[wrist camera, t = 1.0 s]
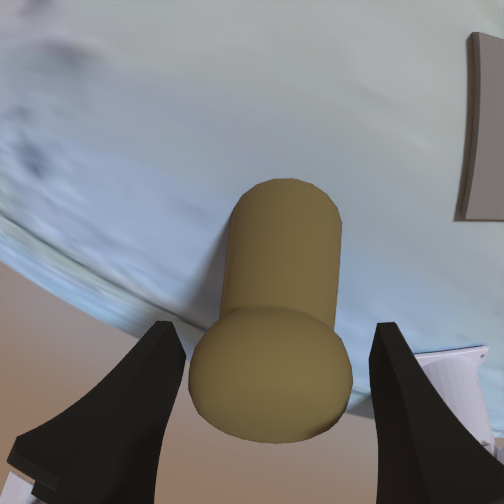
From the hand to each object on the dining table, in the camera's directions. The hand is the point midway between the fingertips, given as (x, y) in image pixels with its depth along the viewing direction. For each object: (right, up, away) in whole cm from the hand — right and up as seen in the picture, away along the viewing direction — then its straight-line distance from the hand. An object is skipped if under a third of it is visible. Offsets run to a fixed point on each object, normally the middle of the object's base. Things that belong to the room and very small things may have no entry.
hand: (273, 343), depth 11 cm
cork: (+1, +4, +6) cm, 8 cm away
